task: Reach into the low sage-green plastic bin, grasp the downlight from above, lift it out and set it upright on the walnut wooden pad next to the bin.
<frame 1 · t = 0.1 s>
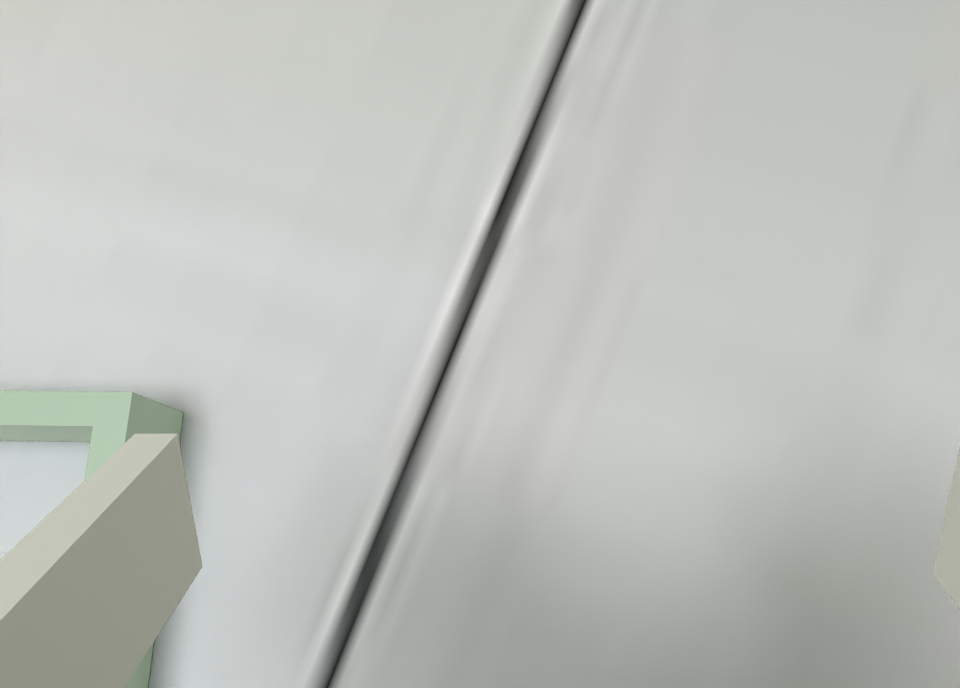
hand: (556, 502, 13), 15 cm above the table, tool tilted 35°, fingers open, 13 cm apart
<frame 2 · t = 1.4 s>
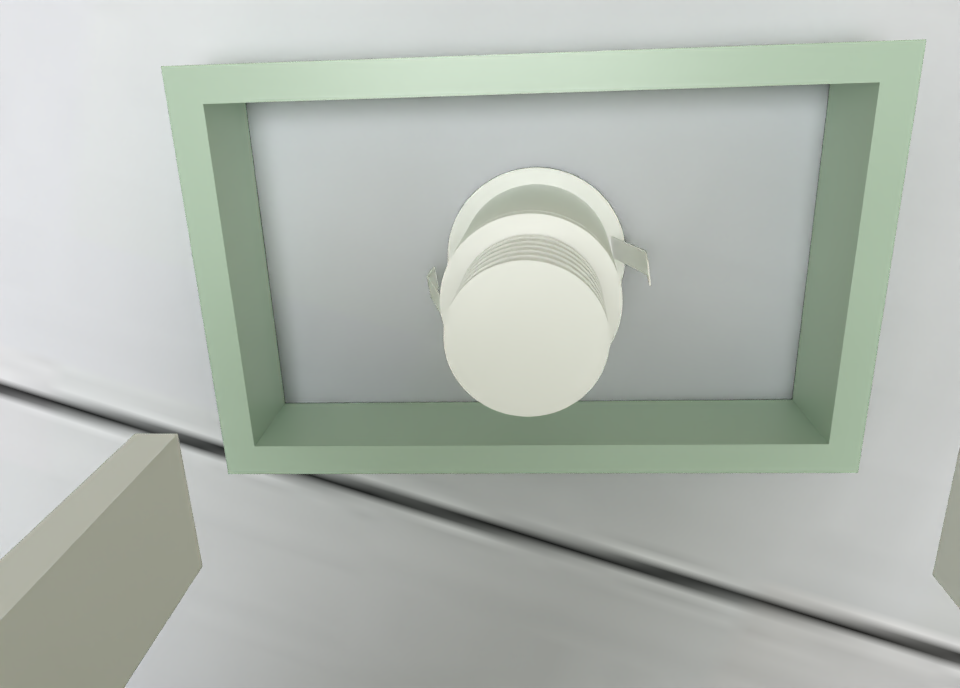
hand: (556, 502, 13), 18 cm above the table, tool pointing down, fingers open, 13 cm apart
bin: (532, 257, 30), on the table
downlight: (532, 255, 30), resting in bin
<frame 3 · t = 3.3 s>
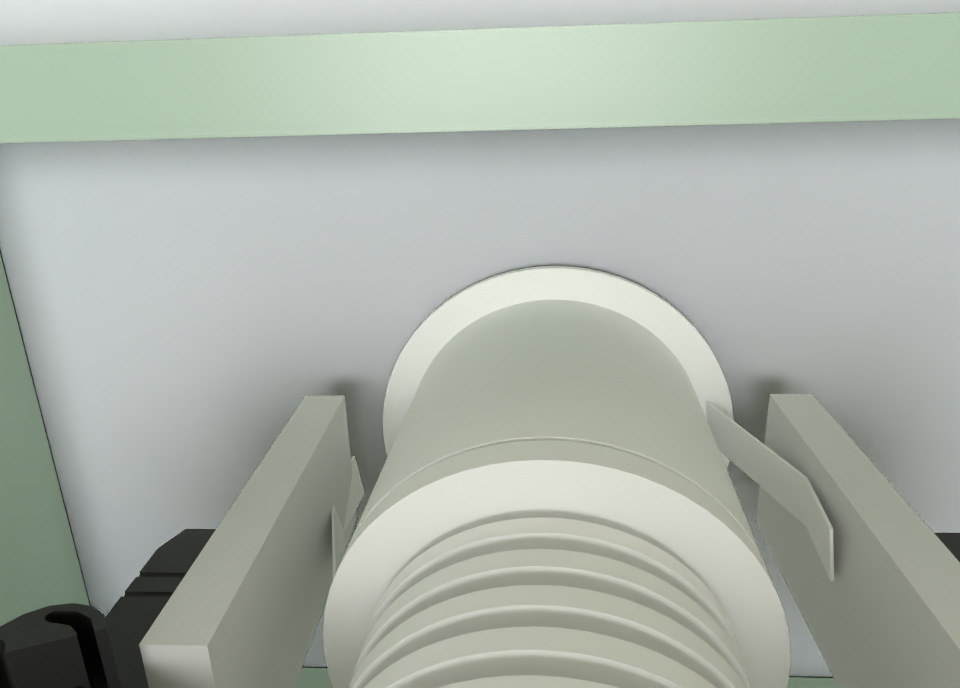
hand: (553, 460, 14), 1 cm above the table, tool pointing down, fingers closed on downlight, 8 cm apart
bin: (550, 431, 15), on the table
downlight: (547, 425, 16), resting in bin, touching gripper
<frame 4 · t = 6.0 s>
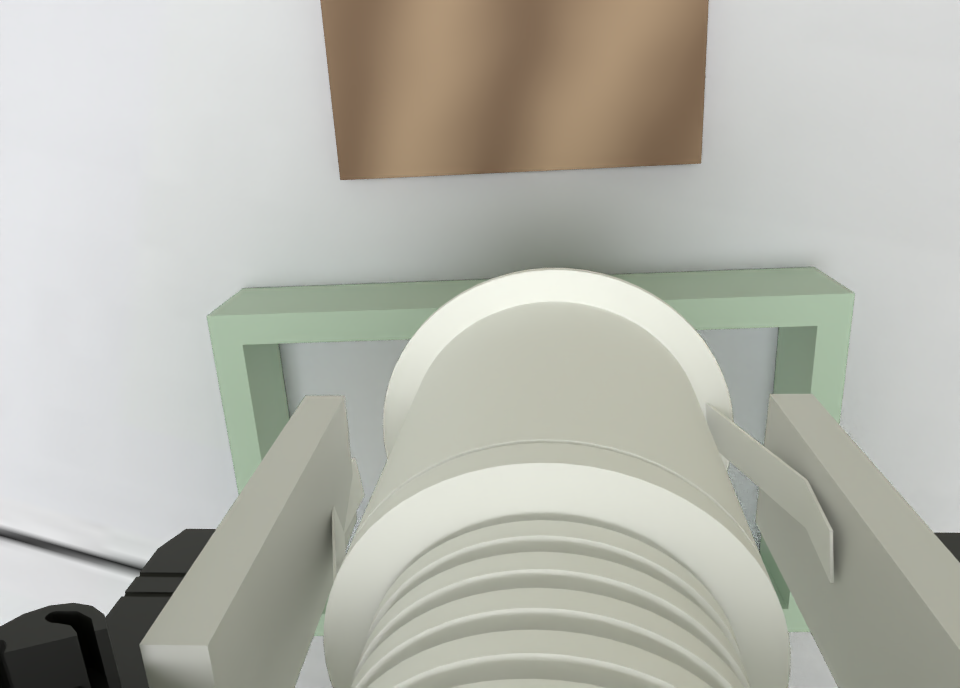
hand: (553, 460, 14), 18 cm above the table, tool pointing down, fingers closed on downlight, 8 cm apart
bin: (527, 438, 34), on the table
downlight: (547, 427, 16), point 17 cm above the table, touching gripper
pad: (512, 5, 28), on the table
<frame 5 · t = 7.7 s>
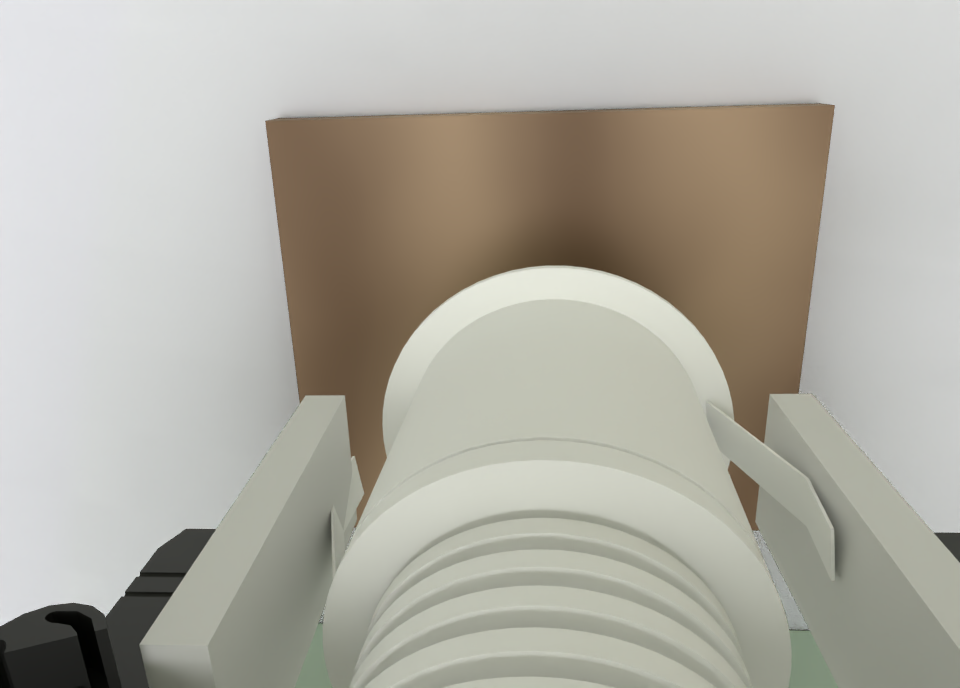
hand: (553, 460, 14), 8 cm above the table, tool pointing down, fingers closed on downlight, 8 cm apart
downlight: (547, 425, 16), point 6 cm above the table, touching gripper
pad: (542, 329, 22), on the table
when the fingers open (4 cm above the table, at t = 9.0 s): downlight drops 1 cm, resting on pad.
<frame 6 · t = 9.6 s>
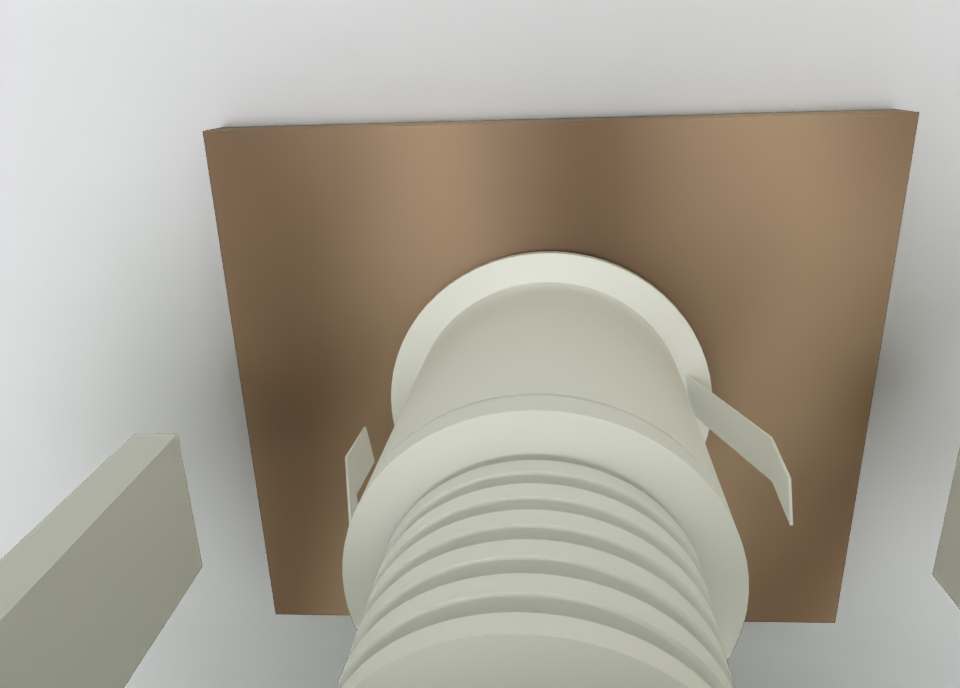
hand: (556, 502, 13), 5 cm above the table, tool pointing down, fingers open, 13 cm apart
downlight: (542, 399, 17), point 1 cm above the table, touching pad
pad: (548, 383, 18), on the table
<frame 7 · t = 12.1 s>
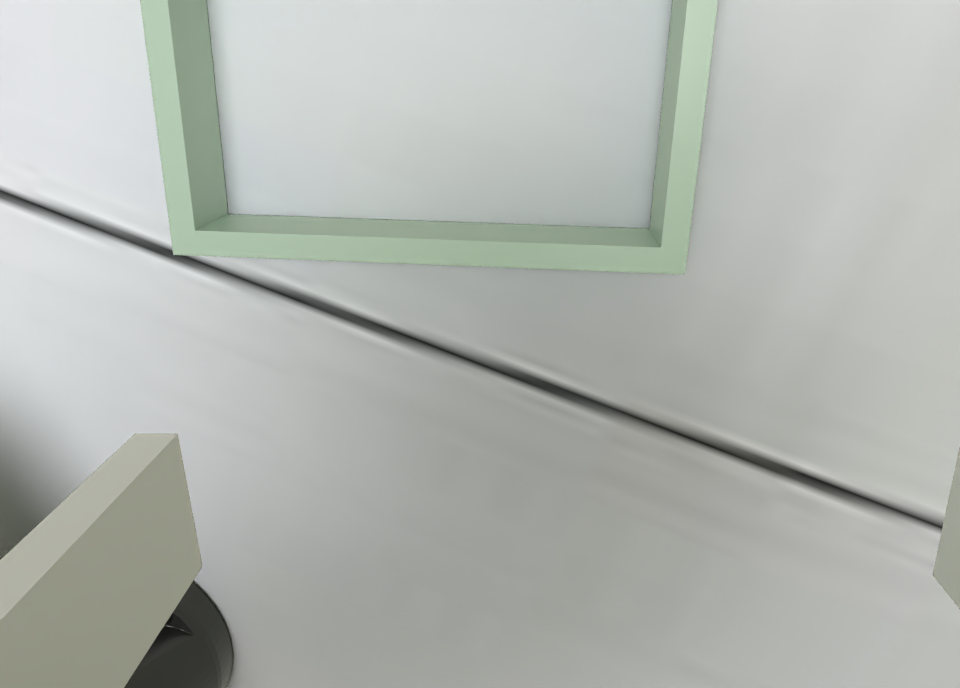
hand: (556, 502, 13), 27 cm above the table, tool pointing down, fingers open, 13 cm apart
bin: (434, 90, 36), on the table
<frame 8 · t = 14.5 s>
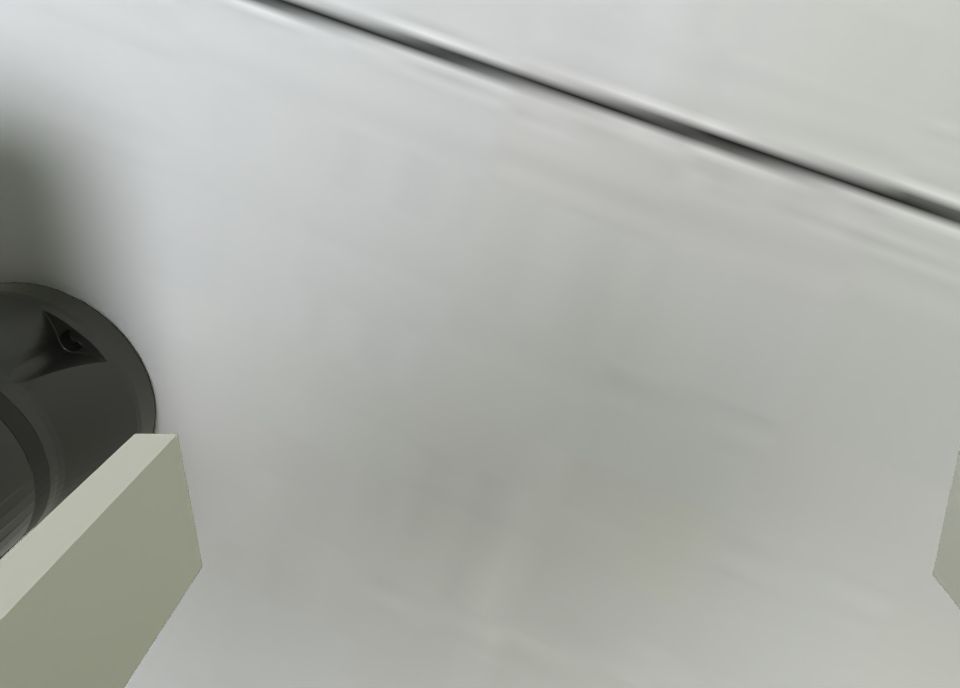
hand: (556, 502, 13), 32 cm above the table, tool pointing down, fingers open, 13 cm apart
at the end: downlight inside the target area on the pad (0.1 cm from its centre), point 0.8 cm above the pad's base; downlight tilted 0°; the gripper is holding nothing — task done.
